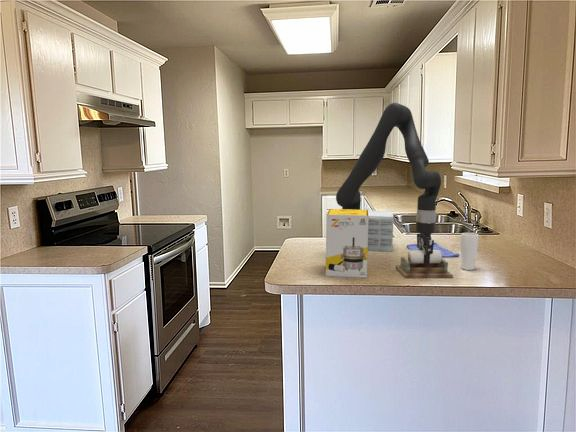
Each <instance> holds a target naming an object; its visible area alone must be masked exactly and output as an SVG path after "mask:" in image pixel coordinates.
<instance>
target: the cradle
mask: <svg viewBox="0 0 576 432" xmlns="http://www.w3.org/2000/svg"><path fill="white" fill-rule="evenodd" d="M448 267H449V262H448V261H446V260H445V258H442V259H441V263H429V264H425V263H413V264H410V262H409V261H408V259H407V258H406V257H404V256H401V257H400V265H395V269H396V271H397V272H399V274H400V275H401V276H402V277H403V278H404V279H453V278H454V274H452V273H451V272H450V271H448Z"/></svg>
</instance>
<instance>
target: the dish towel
mask: <svg viewBox="0 0 576 432" xmlns="http://www.w3.org/2000/svg"><path fill="white" fill-rule="evenodd" d="M406 248H407V249H408V250H418V248H417V243H410V244H407V245H406ZM433 250H440V251H441V255H442V259H452V258H460V256H461V255H460V254H461V253H455V252H453V251H452V250H449V249H448V248H445V247H443V246H441V245H440V244H438V243H437V242H434V246H433Z"/></svg>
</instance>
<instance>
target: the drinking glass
mask: <svg viewBox="0 0 576 432" xmlns="http://www.w3.org/2000/svg"><path fill="white" fill-rule="evenodd" d="M479 239H480V237H479V234H478V233H475V232H462V233H461V237H460V254H461V255H460V256H461V257H460V258H461V261H460V268H461V269H463V270H465V271H473V270H475V269H476V262H477V261H476V260H477V254H478V248H479V241H480V240H479Z"/></svg>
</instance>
